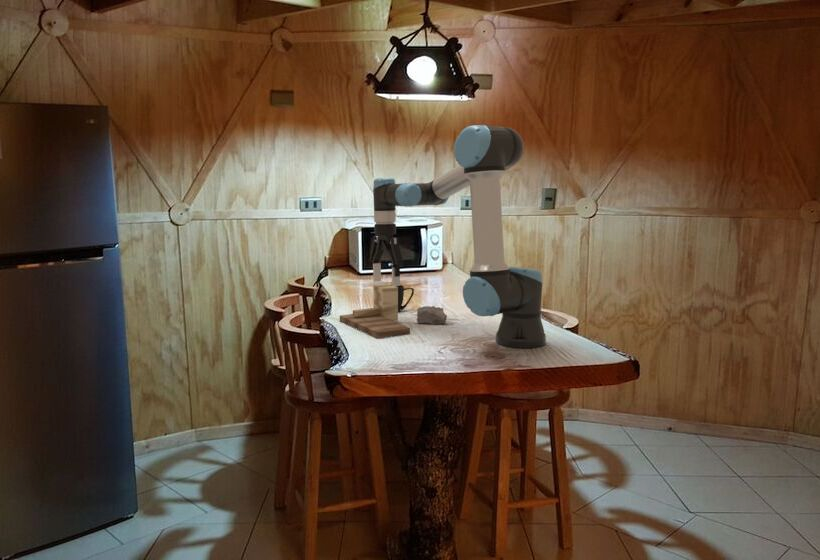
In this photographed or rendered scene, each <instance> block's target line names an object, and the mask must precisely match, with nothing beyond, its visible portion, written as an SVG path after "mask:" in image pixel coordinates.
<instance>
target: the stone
mask: <svg viewBox="0 0 820 560" xmlns="http://www.w3.org/2000/svg"><path fill="white" fill-rule="evenodd" d="M416 317H417V318H416V322H417V323H419V324H429V325H437V324H438V325H445V324H446V322H447V318H448V315H447V314H446V313H445V312H444V308H443V307H440V306H438V307H436V306H435V305H433V306H430V305H428V306H424V305H423V306H421V307H418V308H417V313H416Z"/></svg>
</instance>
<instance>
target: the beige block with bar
mask: <svg viewBox="0 0 820 560" xmlns="http://www.w3.org/2000/svg"><path fill="white" fill-rule="evenodd" d="M372 295H373V296H372V297H373V307H369V308H368V307H367V308H361V309H353V310H352V314H353V316H354V317H360V316H368V315H376V314H377V315H379V316H382V317H384V318H387V319H389V320H392V321H394V322H398V321H399V312H398V287H396V286H392V284H377V285H373V294H372Z"/></svg>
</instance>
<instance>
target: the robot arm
mask: <svg viewBox="0 0 820 560" xmlns="http://www.w3.org/2000/svg"><path fill="white" fill-rule="evenodd" d="M524 151H525V143H524V140H523V138H522V136H521V135H520V133H518V131H517V130H515V129H513V128H511V127H507V126H506V127H505V126H495V125H487V124H486V125H485V124H480V125H479V124H478V125H477V124H475V125H469V126H467V127H465V128H464V129H463V130H461V131H460V133H459V135H458V136H457V137H456V140H455V143H454V149H453V153H454V159H455V161H456V162H457V164H458V165H457V166H455V167H454V168H453V167H452V169H450V170H448V171H447V172H445V173H443V174H442V175H440V176H438V177H436V178H435V179H433V180H431V181H430V182H424V183H423V182H421V183H418V182H417V183H411V182H404V183H403V182H402V183H396V180H395V179H396V178H394V177H381V178H374V180H373V188H372V192H373V195H372V196H373V221H374V228H373V230H374V231H373V232H374V234H375V235H374V236H372V245H371V250H370V255H369V262H371V263H372V275H373V277H372V278H373V280H372V281H373V283H376V282H382V270H381V269H382V267H381V266H382V265H381V259H382V256H383V254H384V251H385V252H386V253H387V254H388V257H389V259H390V262H391V265H392V266H391V285H392V286H400V285H401V267H402V266H404V265H405V264H404V260H403V256H402V255H403V254H402V252H401V248H400V244H399V238H398V237H394V235H396V234H397V224H396V221H397V220H396V216H397V213H396V211H397V210H396V209H397V208H396V207H405V208H408V207H415V206H439V205H444V204H446V203H447V201H448V200H449V198H450V197H451V196H454V195H455V194H457V193H459V192H461V191H463V190H465V189H466V188H469V190H470V191H469V192H470V206H471V207H470V208H471V223H472V224H471V225H472V240H473V243H472V244H473V258H474V259H473V261H474V263H473V265H472V267H471V268H470V269H469V278H468V279H467V280H466V281H464V282H465V283H464V285H463V287H462V297H463V301H464V303H465V305H466V307H467V308H468V309H469V310H470V312H471V313H473V314H475V315H476V316H478V317H494V316H497V315H499V314H500V315H502V316H501V319H500V323H499V326H498V330H497V331H496V333H495V342H496V343H497V344H499V345H502V346H506V347H509V348H518V349H531V348H532V349H534V348H540V347H543V346H545V345H546V343H547V342H546V341H547V340H546V339H547V337H546V333H545V329H544V325H543V322H542V296H543V295H542V292H543V284H544V283H543V273H542V272H541V271H540V270H538V269H534V268H528V267H527V268H526V267H520V266H519V267H518V266H517V267H516V266H509V265H508V264H507V263H506V262H505V248H504V247H505V246H504V229H503V212H502V210H503V209H502V195H501V193H502V192H501V177H503V175H504V174H505V173H506V170H509V169H511V168H512V167H514V166H515V165H517V164H518V163H519V162H520V161H521V159H522V157H523V155H524Z"/></svg>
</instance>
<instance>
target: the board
mask: <svg viewBox="0 0 820 560" xmlns="http://www.w3.org/2000/svg"><path fill="white" fill-rule="evenodd" d="M339 322H340V323H342V324H345V323H346V324H345V325H347V324H348V325H347V326H349V325H350V327H351V326H352V328H353V327H354V329H356V328H357V330H358V331H360V330H361V331H360V332H362V331H363V332H362V333H364V332H365V334H366V333H367V334H366V335H369V336H371V337H373V338H375V339H378V338H379V339H385V337H386V338H391V336H392V337H397V336H398V335H399V336H405V334H406V335H410V334H411V327H409V326H407V325H404V324H401V323H400V322H398V321H392V320H389V319H387V318H384V317H382V316H379V315H377V314H376V315H368V316H360V317H354V316H353V313H350V314H342V315H339Z"/></svg>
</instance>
